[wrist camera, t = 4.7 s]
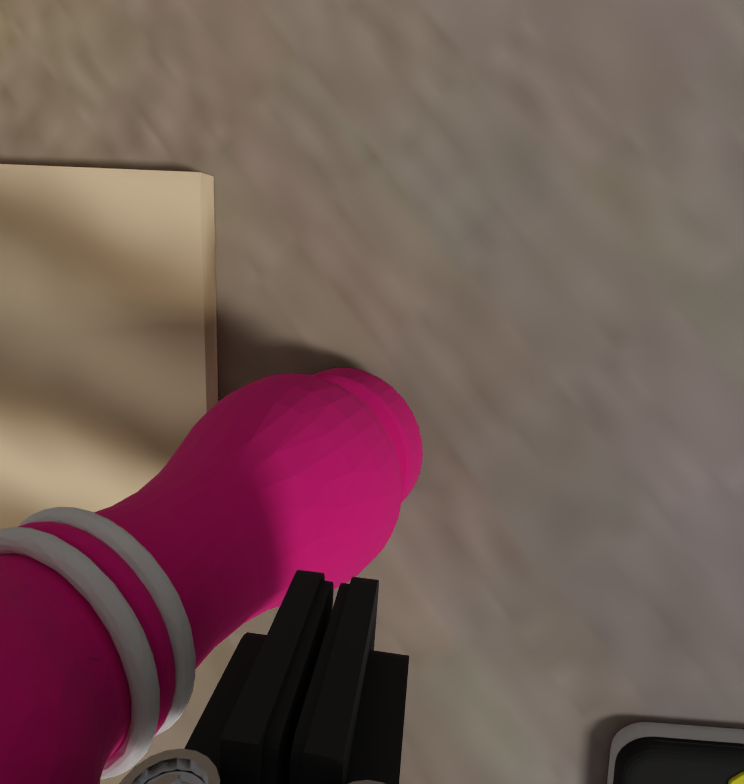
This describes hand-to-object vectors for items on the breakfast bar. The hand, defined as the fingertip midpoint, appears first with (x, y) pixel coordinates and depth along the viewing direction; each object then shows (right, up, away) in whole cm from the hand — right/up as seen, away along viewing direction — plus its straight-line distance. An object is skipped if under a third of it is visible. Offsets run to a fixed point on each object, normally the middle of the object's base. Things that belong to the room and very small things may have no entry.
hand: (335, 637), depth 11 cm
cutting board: (-14, +4, +13) cm, 20 cm away
